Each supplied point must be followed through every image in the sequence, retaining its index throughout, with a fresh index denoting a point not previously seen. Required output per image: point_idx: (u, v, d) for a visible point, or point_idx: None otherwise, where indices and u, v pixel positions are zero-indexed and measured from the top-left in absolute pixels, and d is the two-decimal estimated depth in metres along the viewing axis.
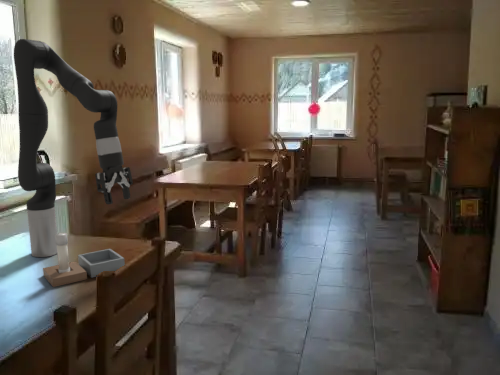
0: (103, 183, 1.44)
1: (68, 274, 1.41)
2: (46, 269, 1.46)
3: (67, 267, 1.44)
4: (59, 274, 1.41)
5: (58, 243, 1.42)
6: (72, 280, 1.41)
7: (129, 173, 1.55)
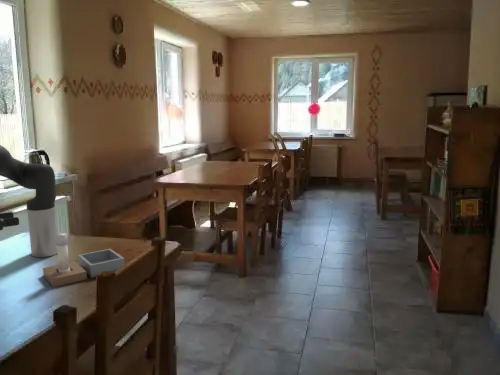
0: None
1: (68, 274, 1.41)
2: (46, 269, 1.46)
3: (67, 267, 1.44)
4: (59, 274, 1.41)
5: (58, 243, 1.42)
6: (72, 280, 1.41)
7: None
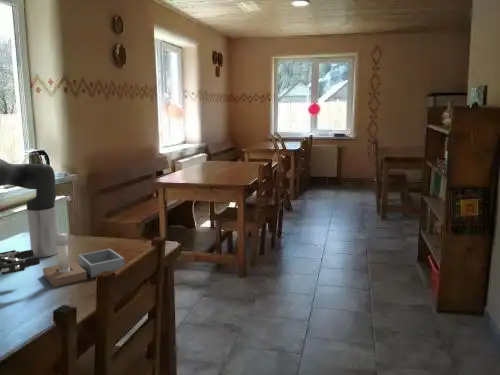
0: None
1: (68, 274, 1.41)
2: (46, 269, 1.46)
3: (67, 267, 1.44)
4: (59, 274, 1.41)
5: (58, 243, 1.42)
6: (72, 280, 1.41)
7: None
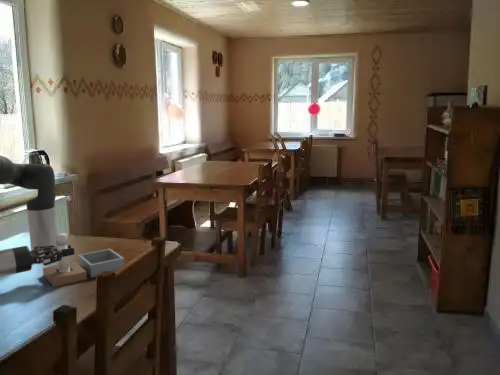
0: None
1: (68, 274, 1.41)
2: (46, 269, 1.46)
3: (67, 267, 1.44)
4: (59, 274, 1.41)
5: (58, 243, 1.42)
6: (72, 280, 1.41)
7: None
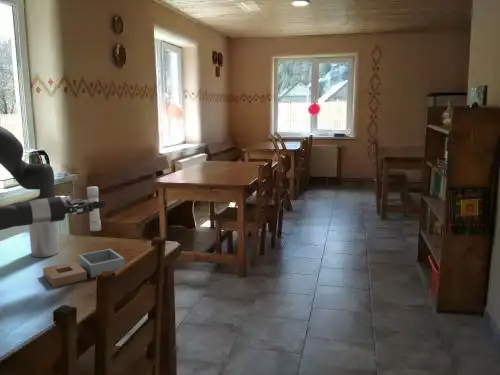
0: None
1: (68, 274, 1.41)
2: (46, 269, 1.46)
3: (98, 219, 1.49)
4: (59, 274, 1.41)
5: (90, 195, 1.46)
6: (72, 280, 1.41)
7: None
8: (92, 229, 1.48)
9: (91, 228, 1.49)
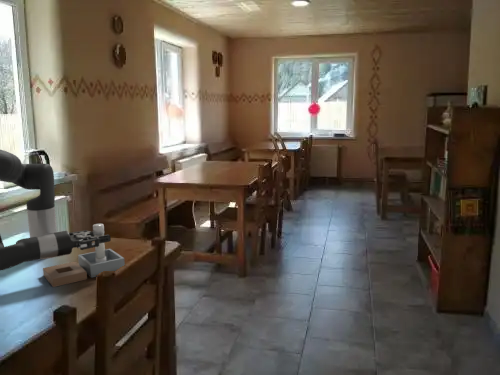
0: None
1: (68, 274, 1.41)
2: (46, 269, 1.46)
3: (103, 256, 1.52)
4: (59, 274, 1.41)
5: (96, 233, 1.49)
6: (72, 280, 1.41)
7: None
8: None
9: None
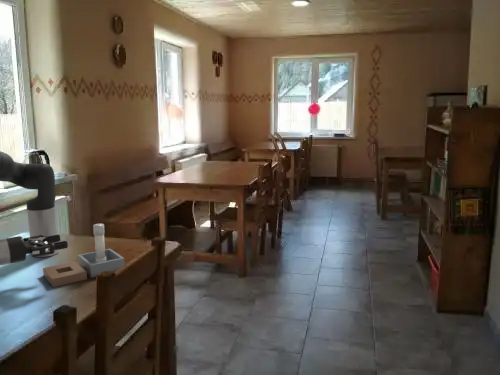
0: None
1: (68, 274, 1.41)
2: (46, 269, 1.46)
3: (104, 256, 1.52)
4: (59, 274, 1.41)
5: (96, 233, 1.49)
6: (72, 280, 1.41)
7: None
8: None
9: None
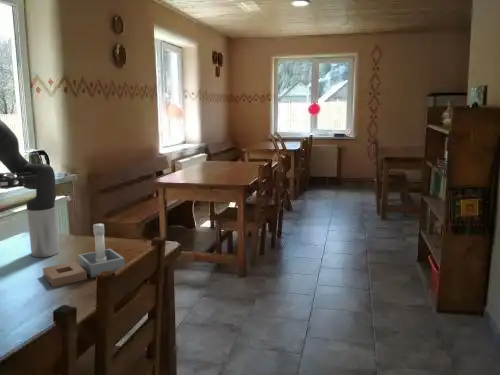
0: None
1: (68, 274, 1.41)
2: (46, 269, 1.46)
3: (104, 256, 1.52)
4: (59, 274, 1.41)
5: (96, 233, 1.49)
6: (72, 280, 1.41)
7: None
8: None
9: None
